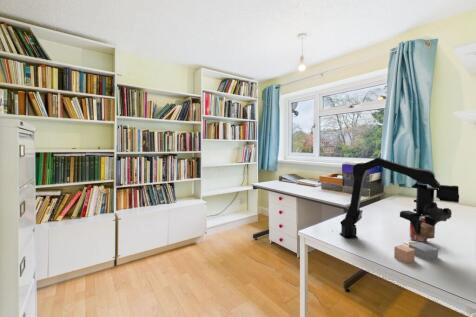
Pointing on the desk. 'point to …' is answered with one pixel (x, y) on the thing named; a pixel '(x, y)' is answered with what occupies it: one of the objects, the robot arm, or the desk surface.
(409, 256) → the terracotta cube
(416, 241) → the swatch
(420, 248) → the slate base
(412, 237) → the soda can
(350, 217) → the robot arm
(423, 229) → the walnut cube
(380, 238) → the desk surface
